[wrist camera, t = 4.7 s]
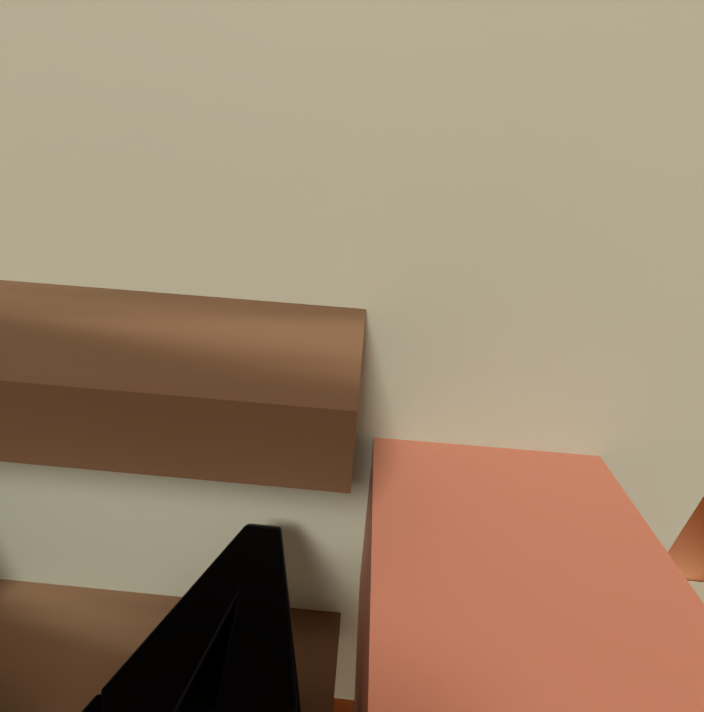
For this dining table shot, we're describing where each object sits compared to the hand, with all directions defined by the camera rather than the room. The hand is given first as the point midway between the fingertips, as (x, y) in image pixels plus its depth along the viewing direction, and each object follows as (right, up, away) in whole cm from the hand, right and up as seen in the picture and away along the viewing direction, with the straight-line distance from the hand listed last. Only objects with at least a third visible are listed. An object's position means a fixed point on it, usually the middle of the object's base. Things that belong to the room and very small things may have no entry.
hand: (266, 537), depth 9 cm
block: (+4, 0, +1) cm, 4 cm away
